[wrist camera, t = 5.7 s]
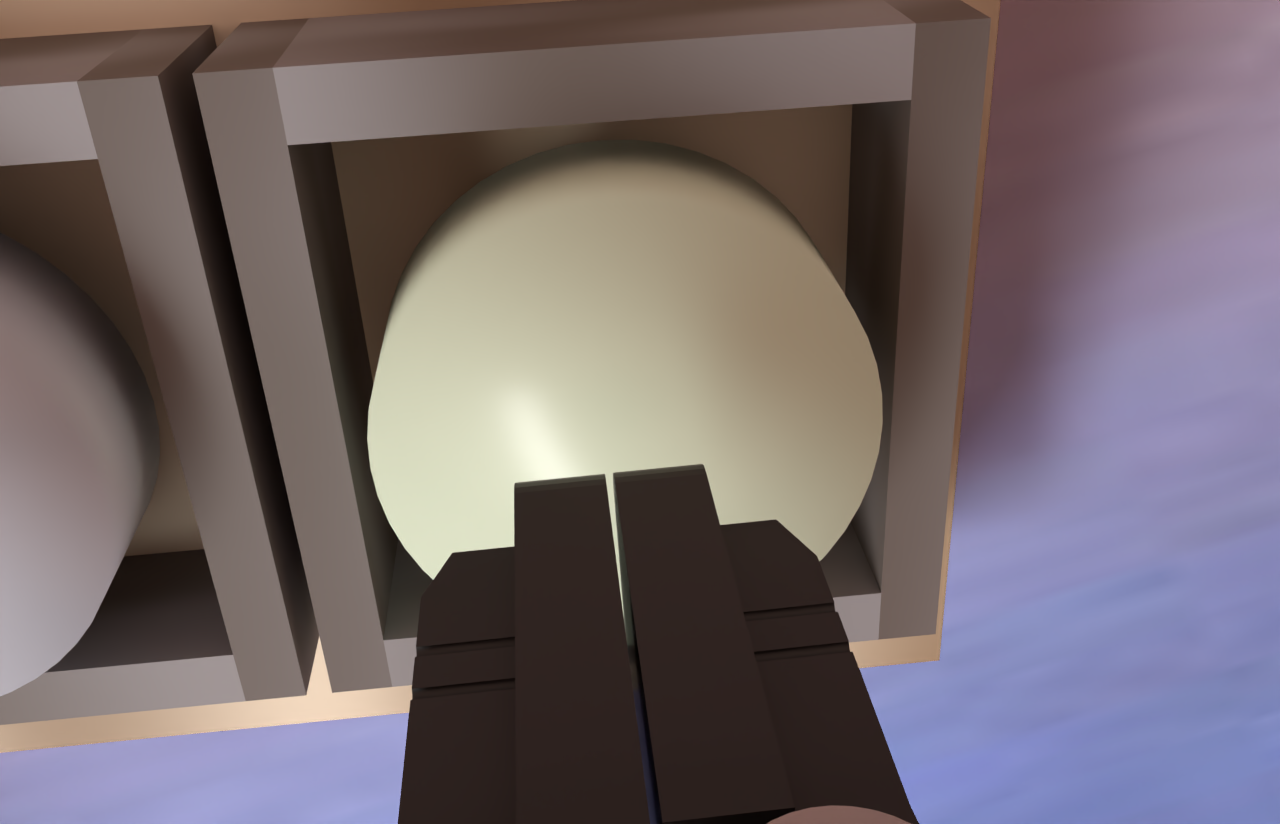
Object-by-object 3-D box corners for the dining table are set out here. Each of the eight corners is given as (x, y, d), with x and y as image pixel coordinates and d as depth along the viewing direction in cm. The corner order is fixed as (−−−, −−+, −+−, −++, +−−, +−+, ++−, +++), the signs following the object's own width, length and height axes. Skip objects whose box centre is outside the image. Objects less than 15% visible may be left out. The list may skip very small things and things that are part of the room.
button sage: (847, 121, 12) (896, 177, 11) (833, 529, 15) (870, 623, 13) (349, 158, 12) (324, 221, 10) (418, 567, 14) (407, 668, 13)
